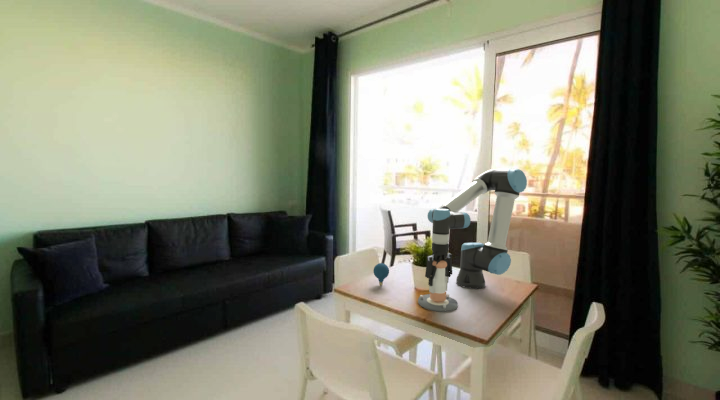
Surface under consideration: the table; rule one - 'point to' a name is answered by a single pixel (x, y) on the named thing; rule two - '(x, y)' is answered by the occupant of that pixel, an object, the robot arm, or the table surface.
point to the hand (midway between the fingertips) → (438, 291)
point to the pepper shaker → (439, 282)
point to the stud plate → (437, 303)
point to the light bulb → (381, 272)
